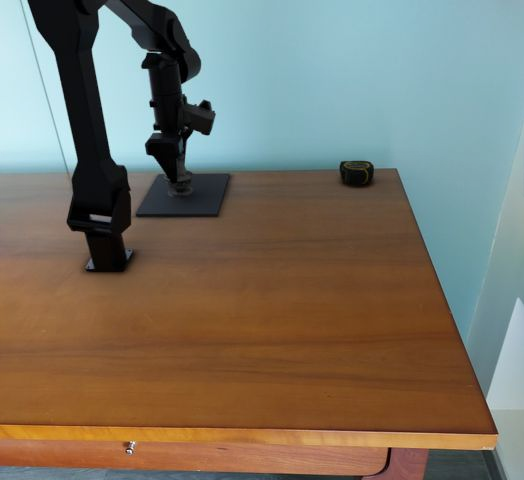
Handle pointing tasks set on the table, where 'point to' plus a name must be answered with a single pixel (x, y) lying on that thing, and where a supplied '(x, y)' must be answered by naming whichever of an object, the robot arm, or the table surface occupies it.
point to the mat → (186, 198)
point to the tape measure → (356, 172)
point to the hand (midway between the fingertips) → (178, 175)
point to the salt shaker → (180, 181)
